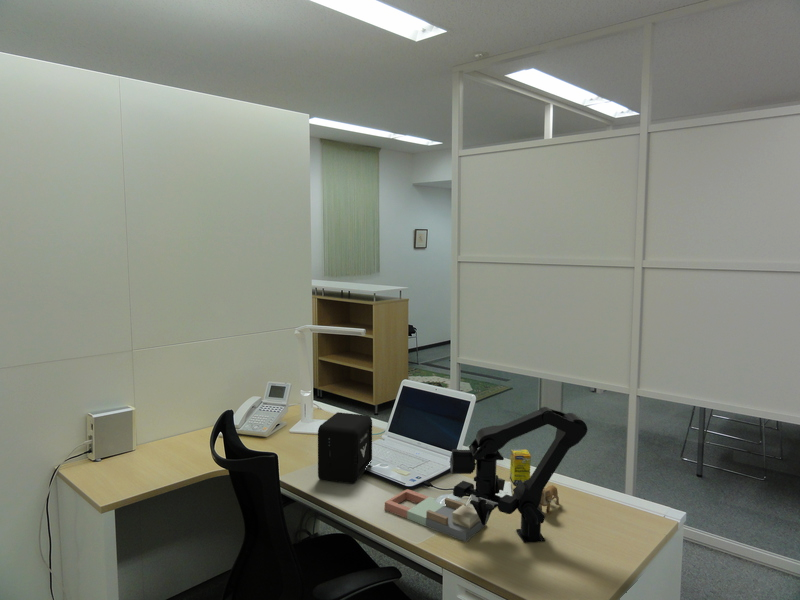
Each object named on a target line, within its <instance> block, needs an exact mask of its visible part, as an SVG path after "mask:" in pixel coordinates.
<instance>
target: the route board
mask: <svg viewBox="0 0 800 600" xmlns="http://www.w3.org/2000/svg"><path fill="white" fill-rule="evenodd" d="M403 500H404V501H405V500H408V501H410V502H412V501H413V502H412V503H415V505H414V506H413V507H409V506H405V505H403V504H400V503H402V502H403ZM436 500H438V499H437V498H433V497H431V496H427V495H425V494H423V493H419V492H417V491H414V490H411V489H408V488H407V489H405V490H402V491H401V492H399V493H398V494H396V495H394V496H392V497H390V499H388V500H386V501H384V510H385V511H387V510H388V511H387V512H389V511H390V513H392V512H393V513H392V514H394V513H395V515H397V514H398V515H397V516H399V515H400V517H402V518H404V517H405V518H404V519H408V520H409V521H412V522H414V523H418V524H420V525H423V526H425V527H428V528H430V529H433V530H434V531H438V532H440V533H441V534H445V535H448V536H450V537H452V538H455V539H458V540H460V541H463V542H464V543H466V542H468V541H469V540H470V539H471V538H473V536H475V535H476V534H477V533H478V532H479V531H481V530H482V529H483V528H484V527H485V526H484V525H482V523H481V521H479V522H477V523H476V524H475V525H474V526H473V527H471V528H470V529H469V528H467V527H464V526H461V525H459V524H456V523H453V522H452V512H454V511H455V510H456V509H458V508H459V507H461V506H462V505H465V506H467V504H466V503H463V502H460V501H458V500H455V499H452V498H449V497H446V498H444V502H445V504H446V506H441V505H439V504H437V503H436ZM398 503H399V504H398Z"/></svg>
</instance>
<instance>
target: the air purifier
mask: <svg viewBox="0 0 800 600" xmlns="http://www.w3.org/2000/svg"><path fill="white" fill-rule="evenodd" d="M371 460H372V461H373V420H372V417H371V416H370V415H367V414H360V413H359V414H357V413H348V412H346V413H345V412H339V411H337V412H336V413H334V414H333V415H332V416H331V417H329V418H328V419H326V421H323V423H322V424H320V425H319V426H318V430H317V477H318V479H320V480H325V481H330V482H331V481H333V482H337V483H338V482H340V483H348V484H354V483H356V482H357V481H358V480H359V478H361V476H363V474H364V473H365V472H366V470H365V468H366V466H367V465H368V464H369V462H370V461H371Z"/></svg>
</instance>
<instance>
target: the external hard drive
mask: <svg viewBox="0 0 800 600" xmlns="http://www.w3.org/2000/svg"><path fill="white" fill-rule="evenodd" d="M512 492H513V489H512V481H507V480H505V484H504V489H503V491H502V490H499V493H498V494H495V495H498V496H500V497H501V498H502V497H503V496H505V495H506V494H507V495H510V496H513V493H512Z"/></svg>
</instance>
